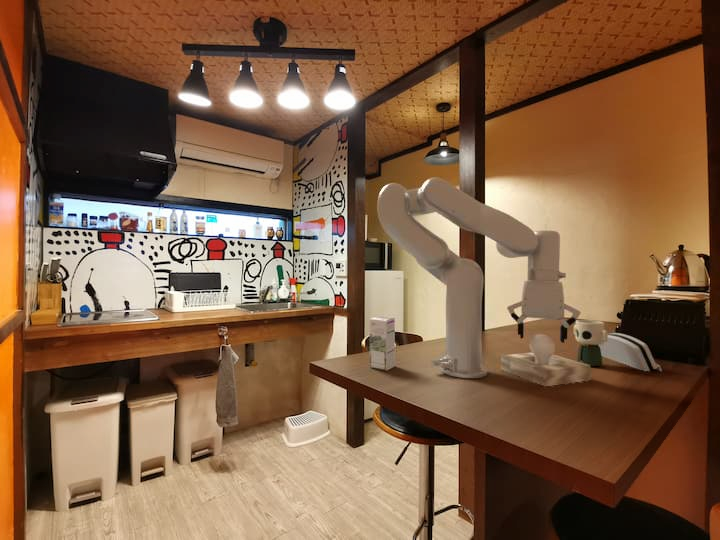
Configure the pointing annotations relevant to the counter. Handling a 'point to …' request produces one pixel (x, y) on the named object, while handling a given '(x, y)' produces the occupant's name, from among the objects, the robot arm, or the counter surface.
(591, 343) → the character mug
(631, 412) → the counter surface
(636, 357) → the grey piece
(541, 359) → the lightbulb
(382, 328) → the syrup box
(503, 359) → the holder
